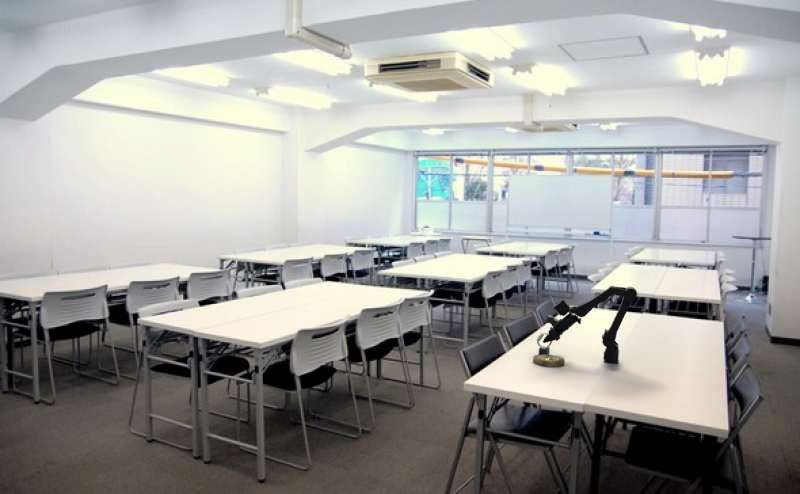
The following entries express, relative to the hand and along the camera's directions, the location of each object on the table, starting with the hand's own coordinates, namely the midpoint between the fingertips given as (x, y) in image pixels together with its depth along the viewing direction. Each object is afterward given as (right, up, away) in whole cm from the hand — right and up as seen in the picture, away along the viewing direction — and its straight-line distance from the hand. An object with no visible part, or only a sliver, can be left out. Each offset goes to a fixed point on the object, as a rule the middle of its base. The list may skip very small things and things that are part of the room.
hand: (543, 341), depth 297 cm
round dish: (-1, -8, -16) cm, 17 cm away
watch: (0, -7, 0) cm, 7 cm away
